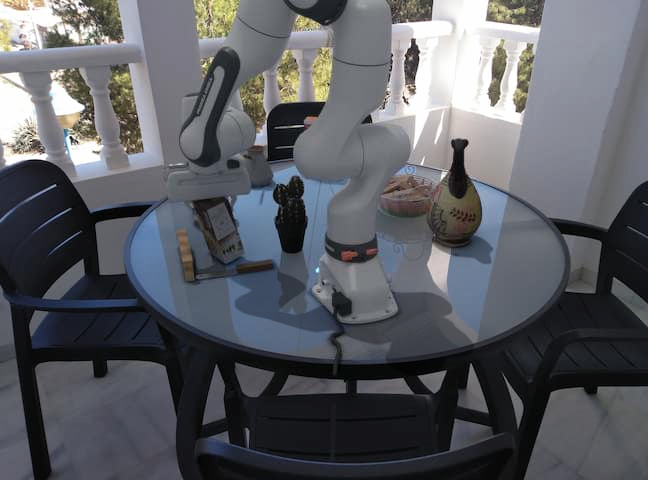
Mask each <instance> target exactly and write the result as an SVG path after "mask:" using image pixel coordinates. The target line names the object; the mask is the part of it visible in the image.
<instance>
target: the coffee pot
mask: <svg viewBox="0 0 648 480" xmlns="http://www.w3.org/2000/svg"><path fill="white" fill-rule="evenodd" d="M265 149H266V147H265V146H264V145H259V144H254V145H253V146H252V147H251V148H250V149H248V150H246V152H247V154H244V155H243V158H244V159H246V160H245V161H244V167H245V168H246V170H247V172H248V174H249V178H250V182H251V188H263V187H266V186H268V185H269V184H270V183H271V182H272V181H273V178H274V176H275V175H274V172H273V170H272V169H271V166H270V165H269V162H268V160H267V158H266V156H265V154H264V151H265Z"/></svg>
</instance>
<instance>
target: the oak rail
mask: <svg viewBox="0 0 648 480" xmlns="http://www.w3.org/2000/svg"><path fill="white" fill-rule="evenodd" d="M176 234H177V240H178V245H179V246H178V247H179V251H180V255H181V256H180V257H181V262H182V266H183V272H184V277H185V282H193V281H195V280H196V278H195V273H194V264H193V263H194V260H193V259H194V258H193V255H192V250H191V246H190V241H189V237H188V232H187V229H186V228H182V229H176Z"/></svg>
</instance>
